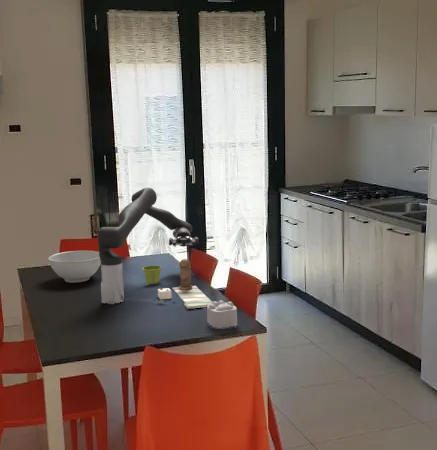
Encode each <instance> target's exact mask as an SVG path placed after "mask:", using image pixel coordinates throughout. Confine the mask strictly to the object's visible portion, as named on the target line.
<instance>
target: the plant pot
mask: <svg viewBox="0 0 437 450" xmlns="http://www.w3.org/2000/svg"><path fill="white" fill-rule="evenodd" d="M141 268H142V271H143V275H144V279H145V284H146V286H150V285H155V284H158V283H160V278H161V271H162V266H161V265H146V266H143V267H141Z"/></svg>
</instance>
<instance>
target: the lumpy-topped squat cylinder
mask: <svg viewBox="0 0 437 450" xmlns="http://www.w3.org/2000/svg"><path fill="white" fill-rule="evenodd" d="M206 318H207V321H206V322H208V323H209V324H210V325H212V326H213V327H217V328H222V327H229V326H236V325H237V326H238V309H237V307H236V306H235V305H234V303H233V302H232V301H227V302H225V301H224V300H221V299H220V300H219V301H216V300H215V301H212V303H211V304H209V305H208V306H207V308H206Z"/></svg>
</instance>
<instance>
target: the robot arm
mask: <svg viewBox="0 0 437 450" xmlns="http://www.w3.org/2000/svg"><path fill="white" fill-rule="evenodd" d="M157 199H158V197H157V192H156V191H155V189H153V188H152V187H145V188H142V189H139V190H138V191H136V192H134V193H133V194H132V195H131V202H130V203H129V204H128V205H126V206H124V208H123V209H122V210H121V212H119V214H118V217H117V222H118V224H119V225H118V226H101V227H100V228H99V230H98V232H97V246H98V247H97V248H98V252H99V257H100V260H101V264H100V273H101V275H100V276H101V282H100V293H101V304H106V303H107V305H115V303H116V304H120V302H121V303H122V302H124V301H125V298H124V297H125V296H124V295H125V294H124V275H123V274H124V273H123V257H122V255H120V254H118V253H116V252H114V251H113V250H112V249H119V248H122V247H123V245H124V244H125V243H126V241H127V238H128V237H129V236H130V234H131V232H132V231H133V230H134V228H135V227H136V226H137V225H138V224H139V223H140V221H141V219H142V218H143V217H144V215H148V216H150V217H151V218H153V219H155V220H156V221H159V222H160V223H161V224H162V225H164V227H166V228H167V229H168V230H170V231H172V236H173V237H174V239H173V238H172V237H170V238H169V239H168V246H174V247H177V246H180V247H182V248H183V247H187V246H192V247H194V246H196V245H199V244H200V243H199V240H200V239H199V238H198V236H195V237H192V235H191V233H192V232H193V226H192V224H190V222H187V221H186V220H183V219H180V218H178V217H176V215H174V214H173V213H172V212H170V211H168V210H166V209H164V208H163V209H162V208H159V207H155V206H154V205H155V204H156V202H157Z"/></svg>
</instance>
